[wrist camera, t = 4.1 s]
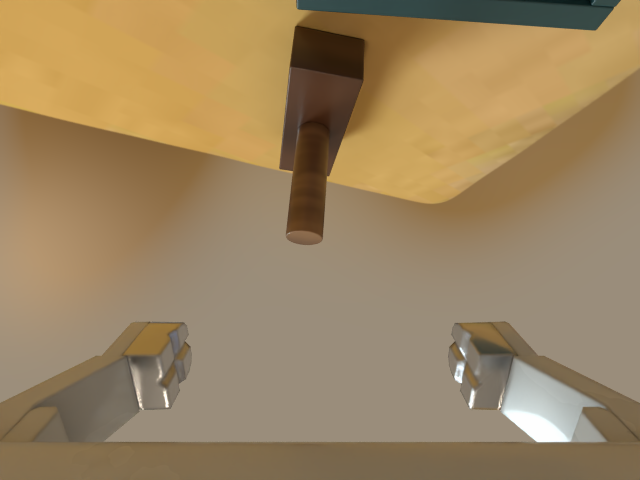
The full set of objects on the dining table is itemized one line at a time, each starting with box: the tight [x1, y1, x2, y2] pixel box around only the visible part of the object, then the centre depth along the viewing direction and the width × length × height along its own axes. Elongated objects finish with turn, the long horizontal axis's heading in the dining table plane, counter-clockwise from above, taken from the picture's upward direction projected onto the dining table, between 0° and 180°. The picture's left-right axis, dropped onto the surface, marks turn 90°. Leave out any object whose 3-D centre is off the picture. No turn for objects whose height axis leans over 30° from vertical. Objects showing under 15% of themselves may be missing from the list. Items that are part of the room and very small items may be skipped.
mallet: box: [279, 26, 364, 245], centre depth 25 cm, size 11×4×12 cm, turn 170°
